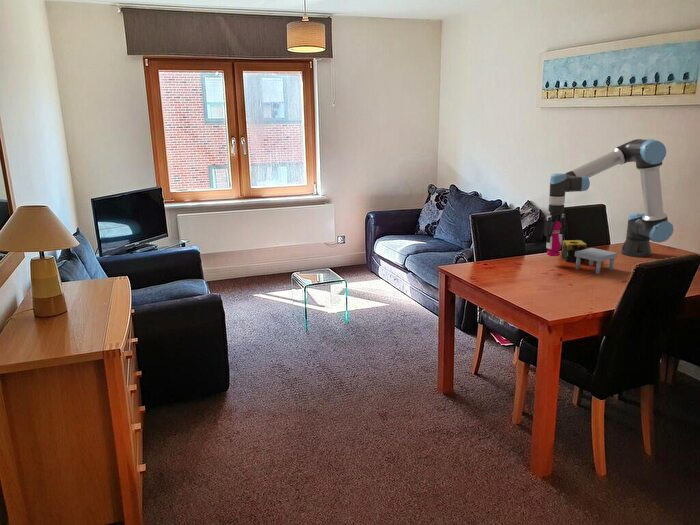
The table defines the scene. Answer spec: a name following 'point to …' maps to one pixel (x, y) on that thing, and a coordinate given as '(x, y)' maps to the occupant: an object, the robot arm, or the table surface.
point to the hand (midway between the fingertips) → (553, 247)
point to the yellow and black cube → (572, 250)
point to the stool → (595, 257)
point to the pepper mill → (555, 240)
